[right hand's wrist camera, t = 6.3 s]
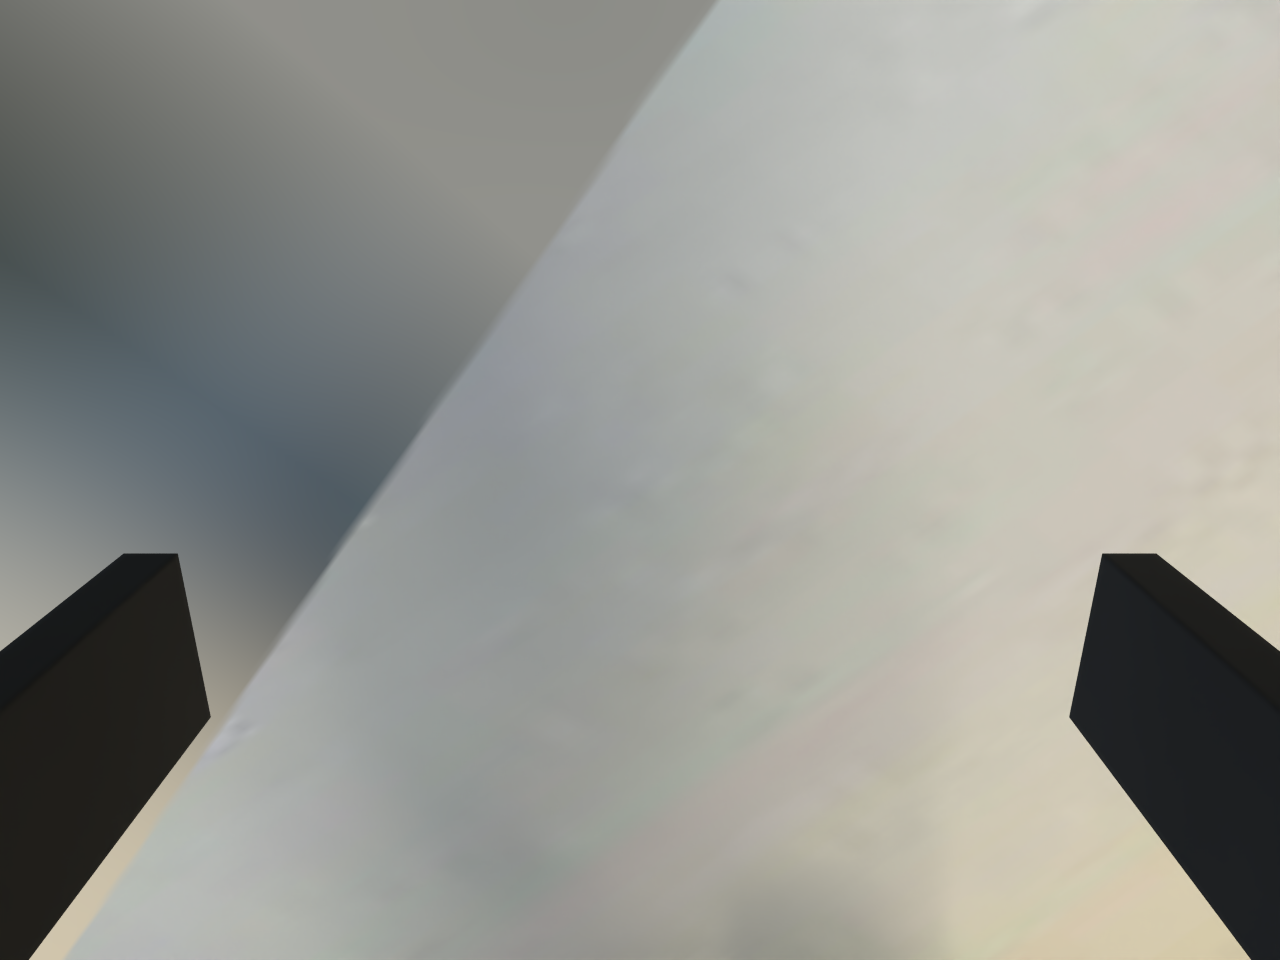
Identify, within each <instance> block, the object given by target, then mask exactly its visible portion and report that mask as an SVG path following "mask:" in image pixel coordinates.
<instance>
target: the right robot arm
mask: <svg viewBox="0 0 1280 960" xmlns="http://www.w3.org/2000/svg"><path fill="white" fill-rule="evenodd" d="M210 717H211V716H210V711H209V706H208V701H207V696H206V691H205V687H204V681H203V676H202V672H201V667H200V662H199V657H198V652H197V647H196V642H195V637H194V632H193V627H192V622H191V617H190V612H189V607H188V602H187V597H186V592H185V588H184V582H183V577H182V573H181V568H180V563H179V558H178V554H123V555H121V556H120V557H119V558H118V559H116V560H115V561H114V562H112V563H111V564H110V565H109V566H108V567H106V568H105V569H104V570H102V571H101V572H100V573H99V574H97V575H96V576H95V577H94V578H92V579H91V580H90V581H89V582H87V583H86V584H85V585H83V586H82V587H81V588H80V589H78V590H77V591H76V592H75V593H73V594H72V595H71V596H70V597H68V598H67V599H66V600H65V601H63V602H62V603H61V604H59V605H58V606H57V607H56V608H54V609H53V610H52V611H51V612H49V613H48V614H47V615H46V616H44V617H43V618H42V619H41V620H39V621H38V622H37V623H36V624H34V625H33V626H32V627H31V628H29V629H28V630H27V631H25V632H24V633H23V634H22V635H20V636H19V637H18V638H17V639H15V640H14V641H13V642H11V643H10V644H9V645H8V646H6V647H5V648H4V649H3V650H1V651H0V960H29V959H30V957H31V956H32V955H33V953H34V952H35V951H36V949H37V948H38V947H39V945H40V944H41V943H42V941H43V940H44V939H45V937H46V936H47V935H48V933H49V932H50V931H51V929H52V928H53V927H54V925H55V924H56V923H57V921H58V920H59V919H60V917H61V916H62V915H63V913H64V912H65V911H66V909H67V908H68V907H69V905H70V904H71V903H72V901H73V900H74V899H75V897H76V896H77V895H78V893H79V892H80V891H81V889H82V888H83V887H84V885H85V884H86V883H87V881H88V880H89V879H90V877H91V876H92V875H93V873H94V872H95V871H96V869H97V868H98V867H99V865H100V864H101V863H102V861H103V860H104V859H105V857H106V856H107V855H108V853H109V852H110V851H111V849H112V848H113V847H114V845H115V844H116V843H117V841H118V840H119V839H120V837H121V836H122V835H123V833H124V832H125V831H126V829H127V828H128V827H129V825H130V824H131V823H132V821H133V820H134V819H135V817H136V816H137V815H138V813H139V812H140V811H141V809H142V808H143V807H144V805H145V804H146V803H147V801H148V800H149V799H150V797H151V796H152V795H153V793H154V792H155V791H156V789H157V788H158V787H159V785H160V784H161V783H162V781H163V780H164V779H165V777H166V776H167V775H168V773H169V772H170V771H171V769H172V768H173V767H174V765H175V764H176V763H177V761H178V760H179V759H180V757H181V756H182V755H183V753H184V752H185V751H186V749H187V748H188V747H189V745H190V744H191V743H192V741H193V740H194V739H195V737H196V736H197V735H198V733H199V732H200V731H201V729H202V728H203V727H204V725H205V724H206V723H207V721H208V720H209V719H210ZM1069 717H1070V719H1071V720H1072V721H1073V723H1074V724H1075V725H1076V727H1077V728H1078V729H1079V731H1080V732H1081V733H1082V735H1083V736H1084V737H1085V739H1086V740H1087V741H1088V743H1089V744H1090V745H1091V747H1092V748H1093V749H1094V751H1095V752H1096V753H1097V755H1098V756H1099V757H1100V759H1101V760H1102V761H1103V763H1104V764H1105V765H1106V767H1107V768H1108V769H1109V771H1110V772H1111V773H1112V775H1113V776H1114V777H1115V779H1116V780H1117V781H1118V783H1119V784H1120V785H1121V787H1122V788H1123V789H1124V791H1125V792H1126V793H1127V795H1128V796H1129V797H1130V799H1131V800H1132V801H1133V803H1134V804H1135V805H1136V807H1137V808H1138V809H1139V811H1140V812H1141V813H1142V815H1143V816H1144V817H1145V819H1146V820H1147V821H1148V823H1149V824H1150V825H1151V827H1152V828H1153V829H1154V831H1155V832H1156V833H1157V835H1158V836H1159V837H1160V839H1161V840H1162V841H1163V843H1164V844H1165V845H1166V847H1167V848H1168V849H1169V851H1170V852H1171V853H1172V855H1173V856H1174V857H1175V859H1176V860H1177V861H1178V863H1179V864H1180V865H1181V867H1182V868H1183V869H1184V871H1185V872H1186V873H1187V875H1188V876H1189V877H1190V879H1191V880H1192V881H1193V883H1194V884H1195V885H1196V887H1197V888H1198V889H1199V891H1200V892H1201V893H1202V895H1203V896H1204V897H1205V899H1206V900H1207V901H1208V903H1209V904H1210V905H1211V907H1212V908H1213V909H1214V911H1215V912H1216V913H1217V915H1218V916H1219V917H1220V919H1221V920H1222V921H1223V923H1224V924H1225V925H1226V927H1227V928H1228V929H1229V931H1230V932H1231V933H1232V935H1233V936H1234V937H1235V939H1236V940H1237V941H1238V943H1239V944H1240V945H1241V947H1242V948H1243V949H1244V951H1245V952H1246V953H1247V955H1248V956H1249V957H1250V959H1251V960H1280V651H1279V650H1277V649H1276V648H1275V647H1274V646H1272V645H1271V644H1270V643H1269V642H1267V641H1266V640H1265V639H1263V638H1262V637H1261V636H1260V635H1258V634H1257V633H1256V632H1255V631H1253V630H1252V629H1251V628H1250V627H1248V626H1247V625H1246V624H1245V623H1243V622H1242V621H1241V620H1239V619H1238V618H1237V617H1236V616H1234V615H1233V614H1232V613H1231V612H1229V611H1228V610H1227V609H1226V608H1224V607H1223V606H1222V605H1221V604H1219V603H1218V602H1217V601H1215V600H1214V599H1213V598H1212V597H1210V596H1209V595H1208V594H1207V593H1205V592H1204V591H1203V590H1202V589H1200V588H1199V587H1198V586H1197V585H1195V584H1194V583H1193V582H1192V581H1190V580H1189V579H1188V578H1186V577H1185V576H1184V575H1183V574H1181V573H1180V572H1179V571H1178V570H1176V569H1175V568H1174V567H1173V566H1171V565H1170V564H1169V563H1168V562H1166V561H1165V560H1164V559H1162V558H1161V557H1160V556H1159V555H1157V554H1102V558H1101V563H1100V568H1099V573H1098V577H1097V582H1096V587H1095V592H1094V597H1093V602H1092V607H1091V612H1090V617H1089V622H1088V627H1087V632H1086V637H1085V642H1084V647H1083V652H1082V657H1081V662H1080V667H1079V672H1078V676H1077V681H1076V686H1075V691H1074V696H1073V701H1072V706H1071V711H1070V716H1069Z"/></svg>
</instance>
